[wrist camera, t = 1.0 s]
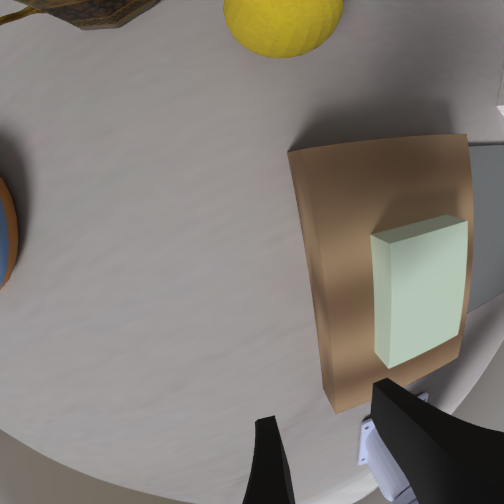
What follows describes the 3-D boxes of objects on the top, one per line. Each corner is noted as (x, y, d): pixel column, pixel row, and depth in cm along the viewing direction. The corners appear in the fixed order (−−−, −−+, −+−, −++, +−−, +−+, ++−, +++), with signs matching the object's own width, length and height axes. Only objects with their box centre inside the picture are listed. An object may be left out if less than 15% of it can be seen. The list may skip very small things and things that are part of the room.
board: (439, 340, 22) (458, 357, 19) (323, 389, 21) (335, 413, 19) (438, 134, 17) (466, 133, 14) (286, 152, 16) (302, 149, 13)
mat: (509, 285, 22) (511, 286, 22) (446, 321, 22) (448, 323, 21) (511, 144, 18) (514, 144, 17) (445, 147, 17) (448, 147, 17)
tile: (441, 322, 18) (457, 334, 16) (374, 351, 17) (388, 368, 15) (446, 214, 15) (467, 220, 13) (370, 234, 15) (389, 243, 13)
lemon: (204, 22, 13) (202, -60, 6) (282, -6, 13) (320, -80, 5) (250, 90, 15) (280, 31, 7) (327, 58, 15) (396, 3, 7)
